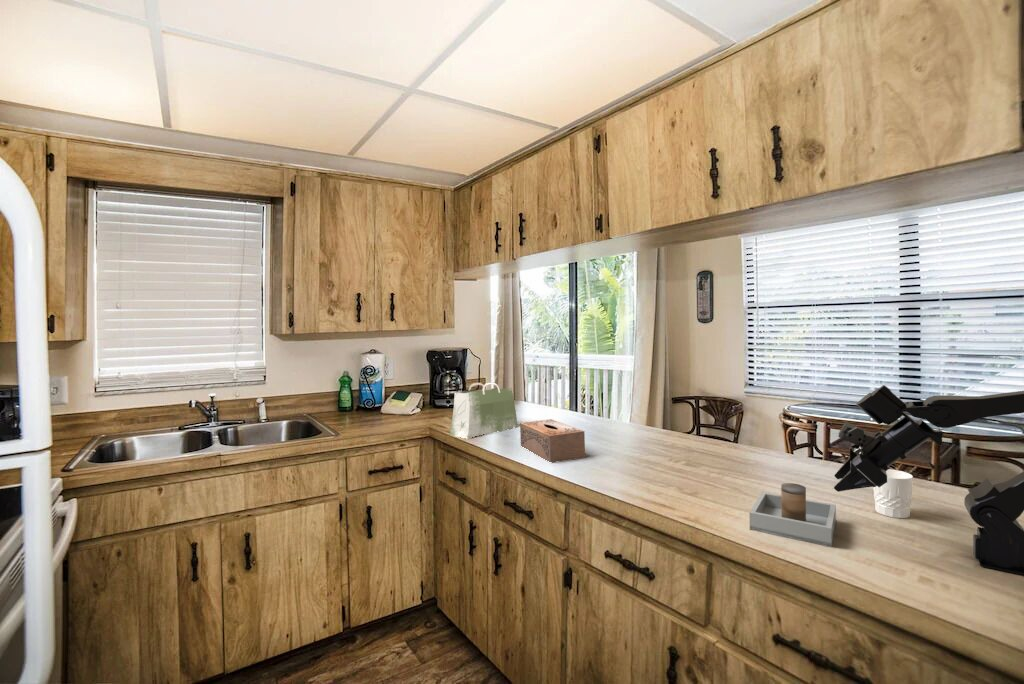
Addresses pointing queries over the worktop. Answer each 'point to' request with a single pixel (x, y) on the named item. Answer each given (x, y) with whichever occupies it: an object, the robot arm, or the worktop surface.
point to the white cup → (894, 495)
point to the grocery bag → (482, 411)
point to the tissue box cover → (552, 440)
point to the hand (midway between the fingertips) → (835, 483)
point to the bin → (813, 530)
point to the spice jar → (793, 501)
